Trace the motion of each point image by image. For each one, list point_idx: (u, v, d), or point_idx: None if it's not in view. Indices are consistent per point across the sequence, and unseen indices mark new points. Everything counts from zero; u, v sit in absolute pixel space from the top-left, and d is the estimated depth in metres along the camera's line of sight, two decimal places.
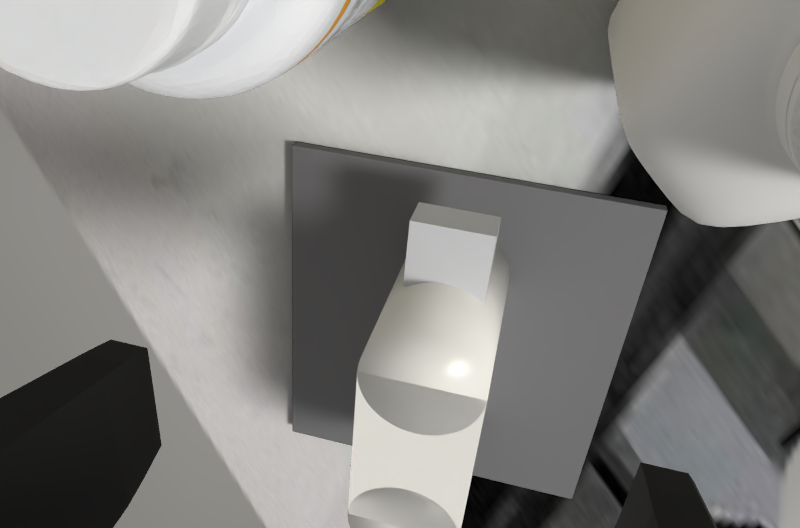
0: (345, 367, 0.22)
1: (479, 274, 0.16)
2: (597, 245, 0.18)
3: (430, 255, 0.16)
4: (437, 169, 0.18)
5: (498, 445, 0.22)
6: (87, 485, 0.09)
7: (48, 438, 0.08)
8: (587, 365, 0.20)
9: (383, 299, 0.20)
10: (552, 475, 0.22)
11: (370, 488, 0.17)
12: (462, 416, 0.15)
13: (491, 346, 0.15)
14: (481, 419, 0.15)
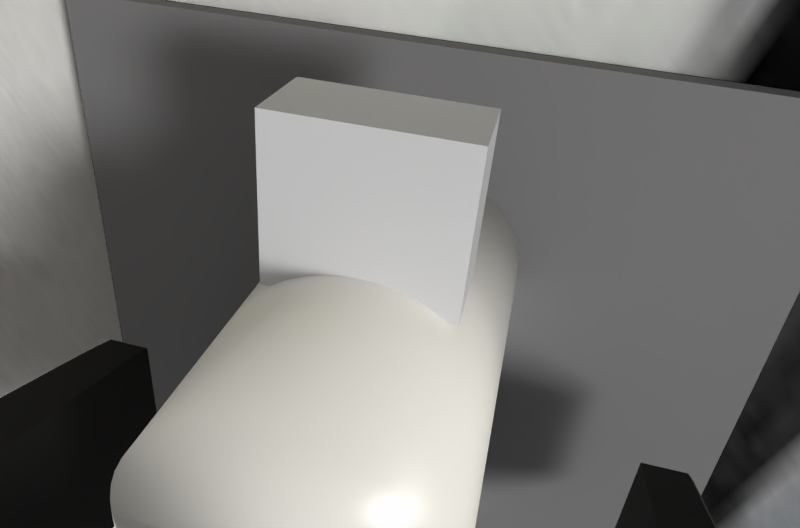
0: None
1: (444, 254, 0.06)
2: (709, 197, 0.08)
3: (318, 203, 0.06)
4: (363, 32, 0.08)
5: None
6: (87, 485, 0.09)
7: (48, 438, 0.08)
8: (668, 440, 0.10)
9: None
10: None
11: None
12: None
13: (475, 444, 0.06)
14: None
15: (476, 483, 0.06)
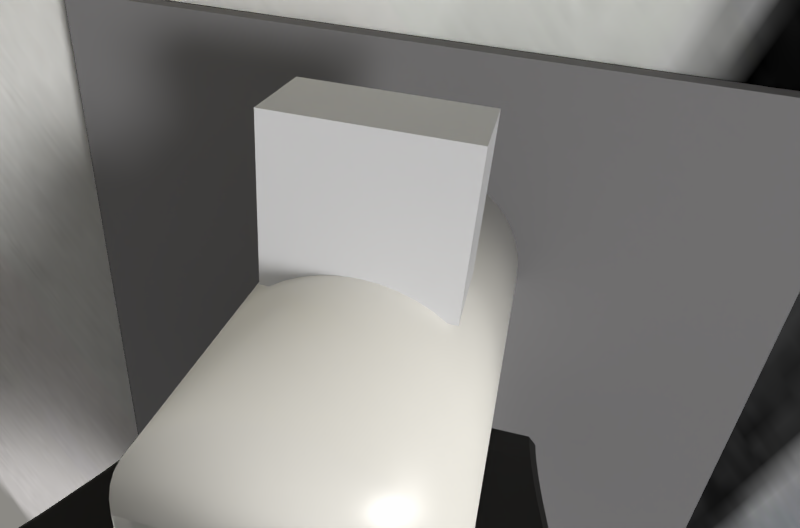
0: None
1: (443, 254, 0.06)
2: (710, 198, 0.08)
3: (318, 204, 0.06)
4: (363, 32, 0.08)
5: None
6: None
7: None
8: (668, 440, 0.10)
9: None
10: None
11: None
12: None
13: (474, 444, 0.06)
14: None
15: (476, 483, 0.06)
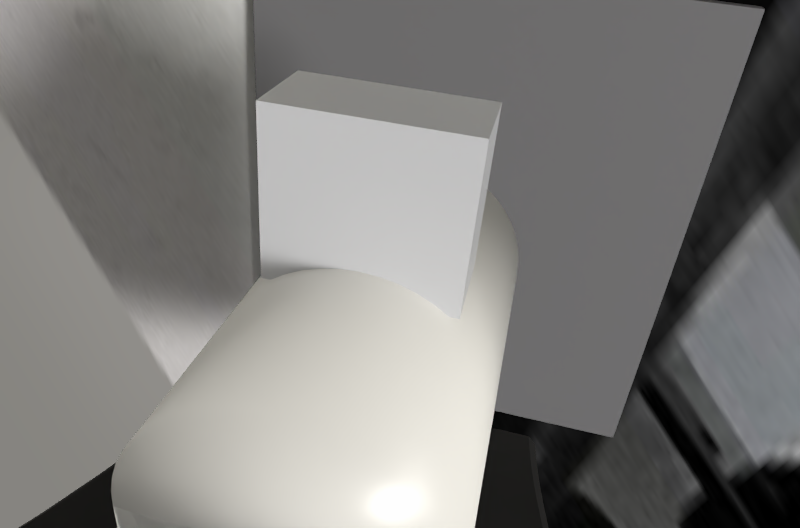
0: None
1: (444, 246, 0.06)
2: (663, 71, 0.13)
3: (318, 197, 0.06)
4: None
5: (521, 367, 0.18)
6: None
7: None
8: (641, 250, 0.15)
9: None
10: (589, 406, 0.18)
11: None
12: None
13: (475, 436, 0.06)
14: None
15: (477, 475, 0.06)
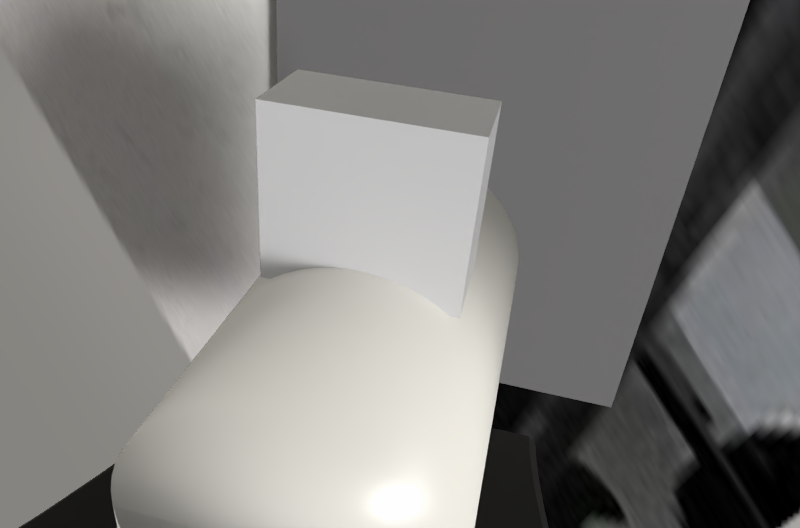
0: None
1: (444, 245, 0.06)
2: (657, 57, 0.14)
3: (318, 195, 0.06)
4: None
5: (525, 340, 0.19)
6: None
7: None
8: (637, 227, 0.16)
9: None
10: (588, 377, 0.19)
11: None
12: None
13: (475, 435, 0.06)
14: None
15: (477, 474, 0.06)
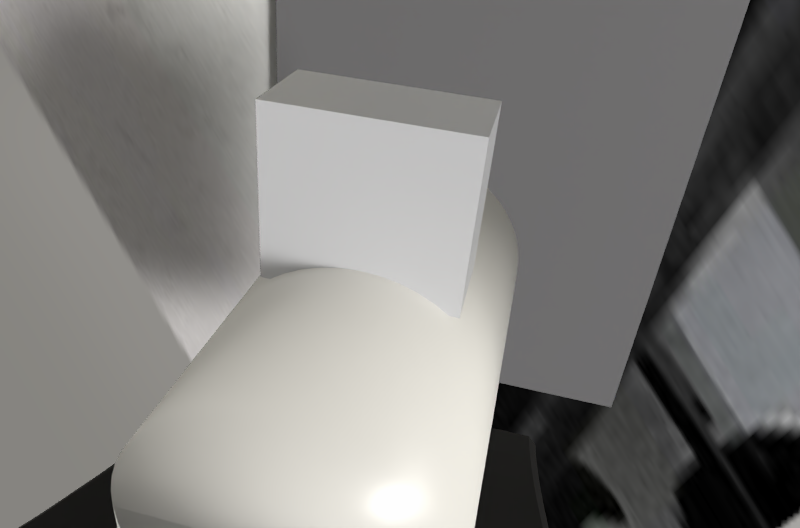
0: None
1: (444, 245, 0.06)
2: (657, 57, 0.14)
3: (318, 195, 0.06)
4: None
5: (525, 340, 0.19)
6: None
7: None
8: (637, 227, 0.16)
9: None
10: (588, 377, 0.19)
11: None
12: None
13: (475, 435, 0.06)
14: None
15: (477, 474, 0.06)
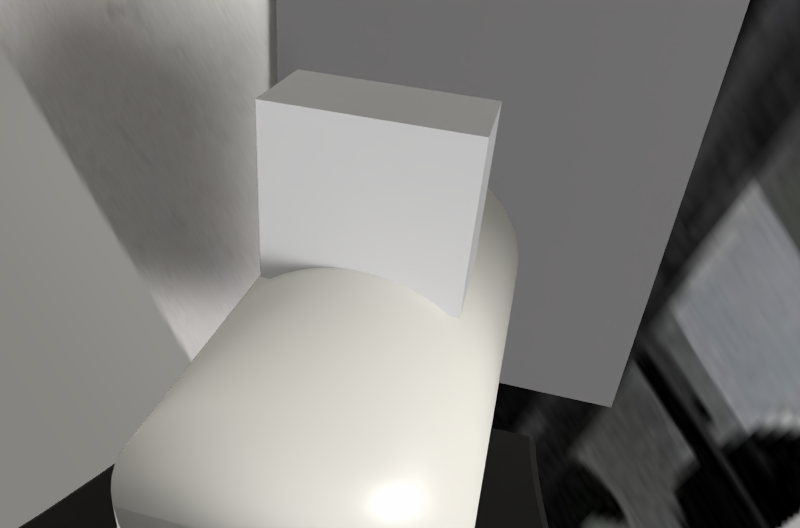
0: None
1: (444, 245, 0.06)
2: (657, 57, 0.14)
3: (318, 195, 0.06)
4: None
5: (525, 340, 0.19)
6: None
7: None
8: (637, 227, 0.16)
9: None
10: (588, 377, 0.19)
11: None
12: None
13: (475, 435, 0.06)
14: None
15: (477, 474, 0.06)
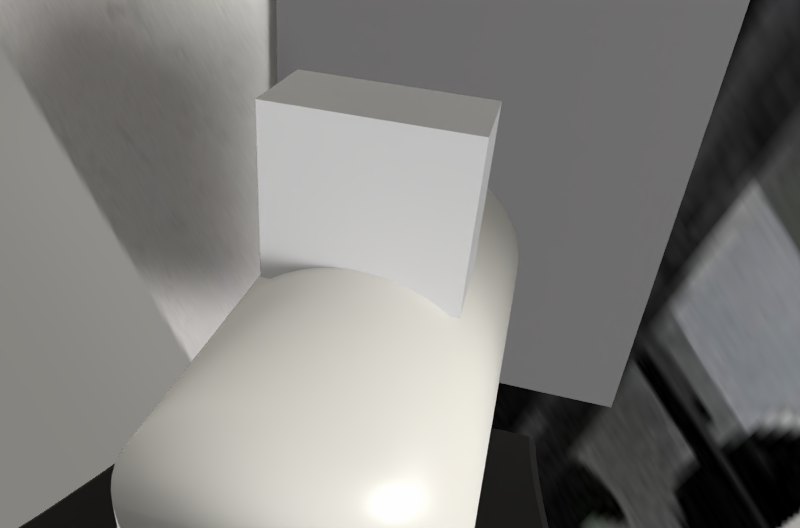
0: None
1: (444, 245, 0.06)
2: (657, 57, 0.14)
3: (318, 195, 0.06)
4: None
5: (525, 340, 0.19)
6: None
7: None
8: (637, 227, 0.16)
9: None
10: (588, 377, 0.19)
11: None
12: None
13: (475, 435, 0.06)
14: None
15: (477, 474, 0.06)
